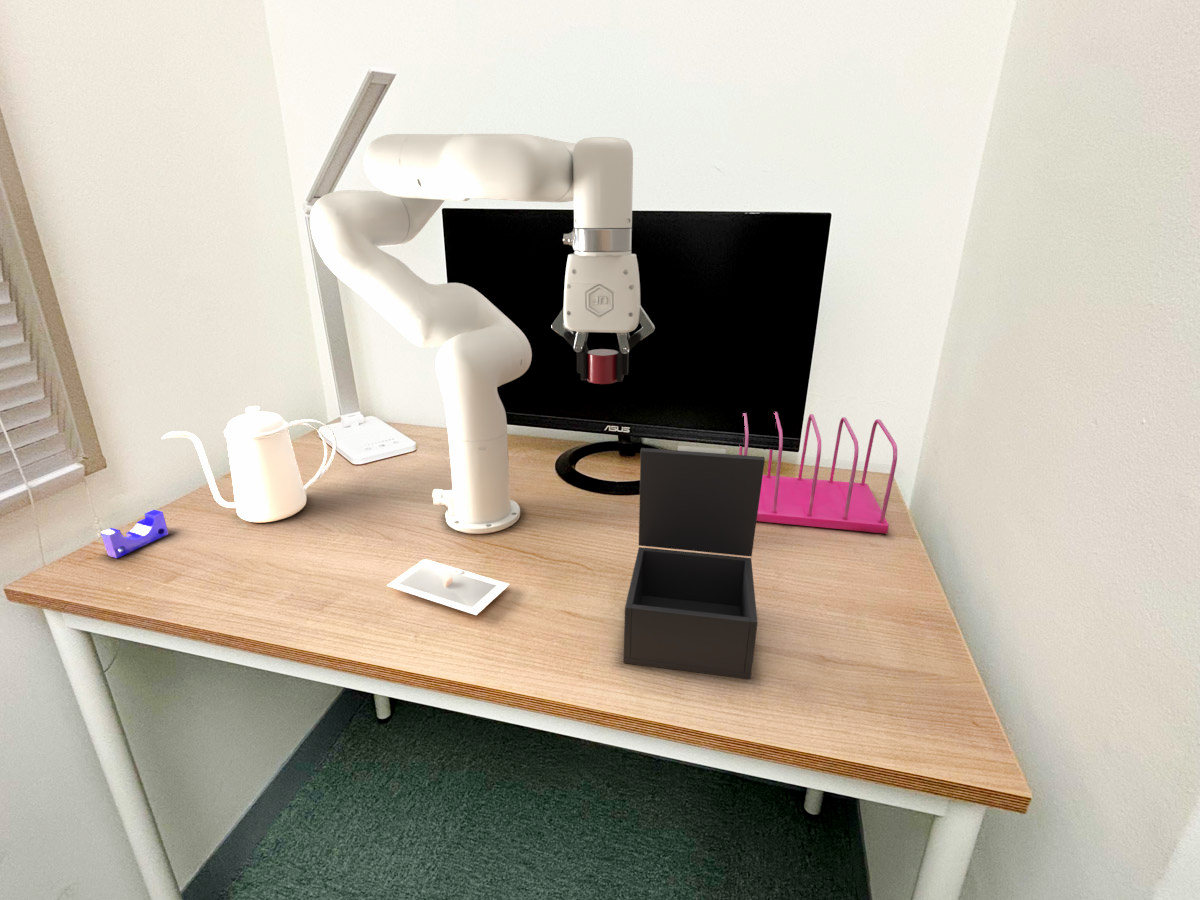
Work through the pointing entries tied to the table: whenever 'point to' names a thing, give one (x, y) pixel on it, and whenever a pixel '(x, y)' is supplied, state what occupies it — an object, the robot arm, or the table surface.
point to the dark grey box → (691, 613)
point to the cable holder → (135, 535)
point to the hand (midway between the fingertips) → (602, 377)
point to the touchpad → (449, 586)
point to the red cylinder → (602, 366)
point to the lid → (699, 499)
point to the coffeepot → (262, 466)
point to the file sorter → (823, 490)
